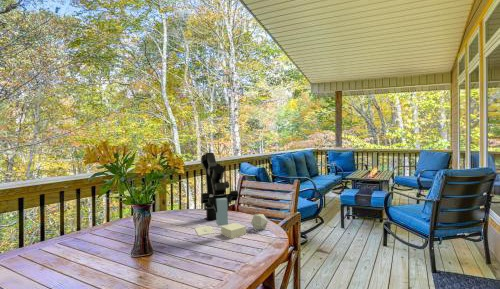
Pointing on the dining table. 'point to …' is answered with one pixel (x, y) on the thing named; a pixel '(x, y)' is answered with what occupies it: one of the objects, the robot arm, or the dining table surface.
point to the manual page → (204, 230)
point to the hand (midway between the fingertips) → (222, 211)
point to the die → (259, 222)
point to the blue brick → (221, 211)
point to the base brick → (233, 230)
